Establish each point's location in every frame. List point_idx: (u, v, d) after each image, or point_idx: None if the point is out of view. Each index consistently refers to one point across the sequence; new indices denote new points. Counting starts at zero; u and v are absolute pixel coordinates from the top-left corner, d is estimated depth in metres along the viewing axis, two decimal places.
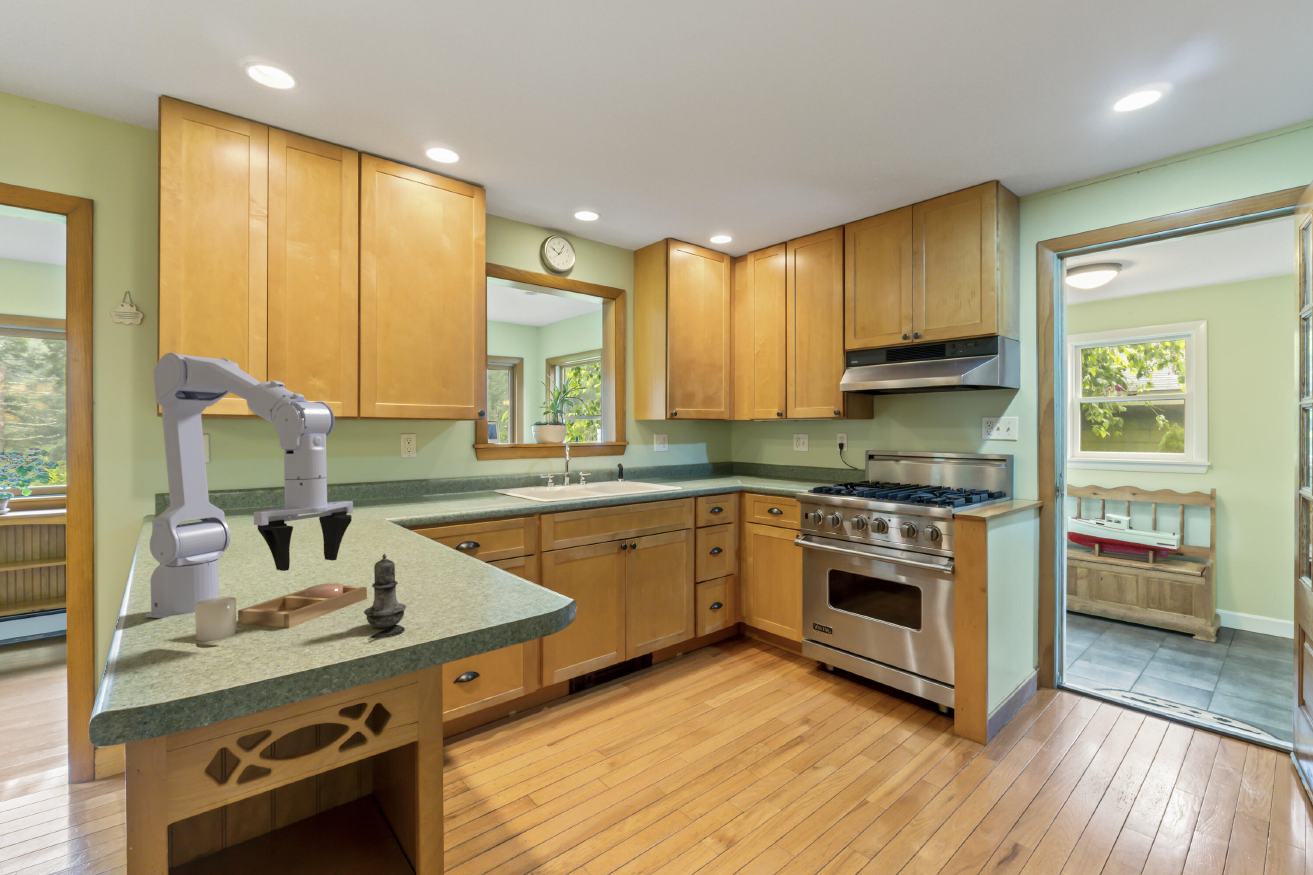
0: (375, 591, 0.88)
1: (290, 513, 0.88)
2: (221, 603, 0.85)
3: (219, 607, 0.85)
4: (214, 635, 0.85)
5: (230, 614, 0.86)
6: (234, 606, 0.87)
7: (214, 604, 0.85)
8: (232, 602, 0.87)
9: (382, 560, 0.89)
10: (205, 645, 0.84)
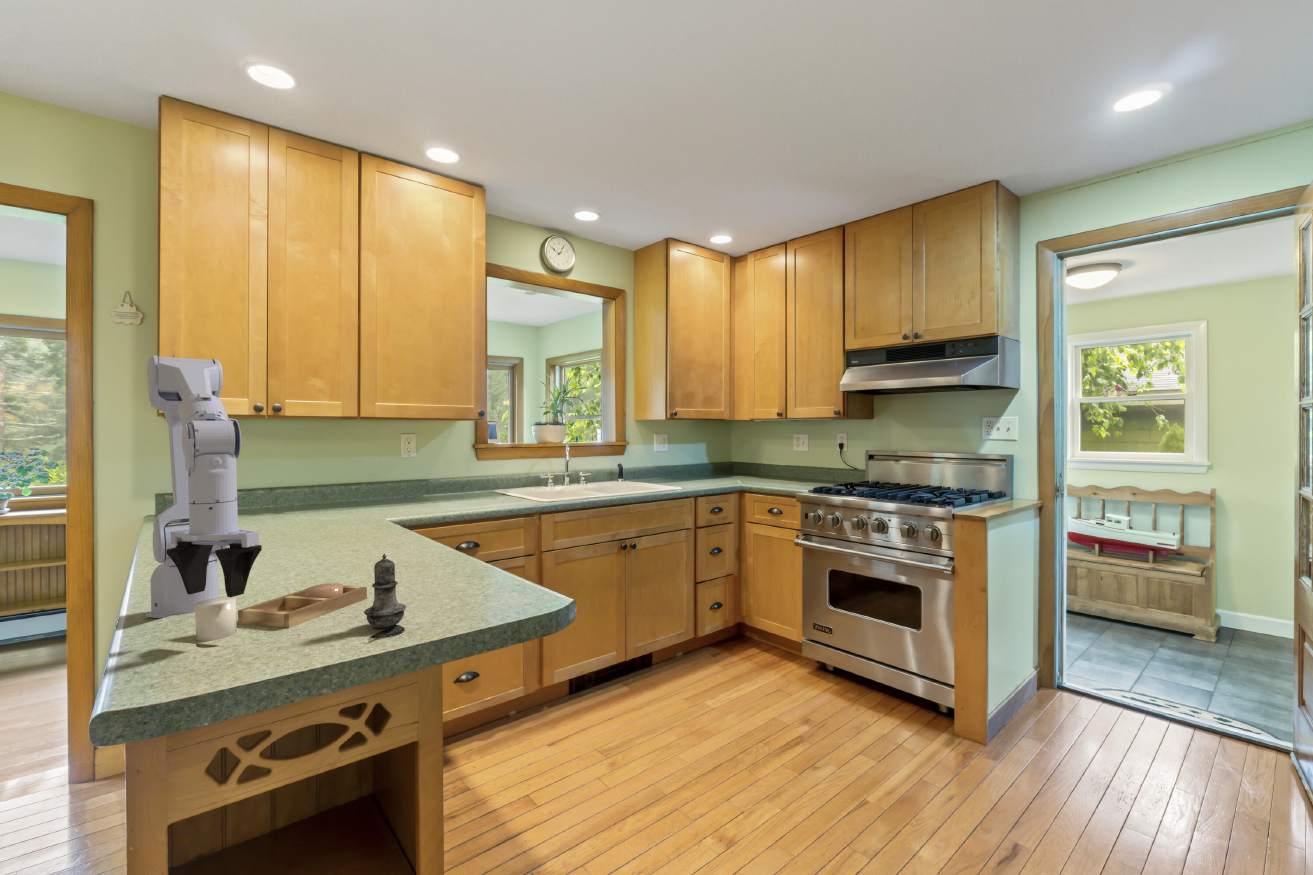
0: (375, 591, 0.88)
1: (181, 537, 0.86)
2: (221, 603, 0.85)
3: (219, 607, 0.85)
4: (214, 635, 0.85)
5: (230, 614, 0.86)
6: (234, 606, 0.87)
7: (214, 604, 0.85)
8: (232, 602, 0.87)
9: (382, 560, 0.89)
10: (205, 645, 0.84)
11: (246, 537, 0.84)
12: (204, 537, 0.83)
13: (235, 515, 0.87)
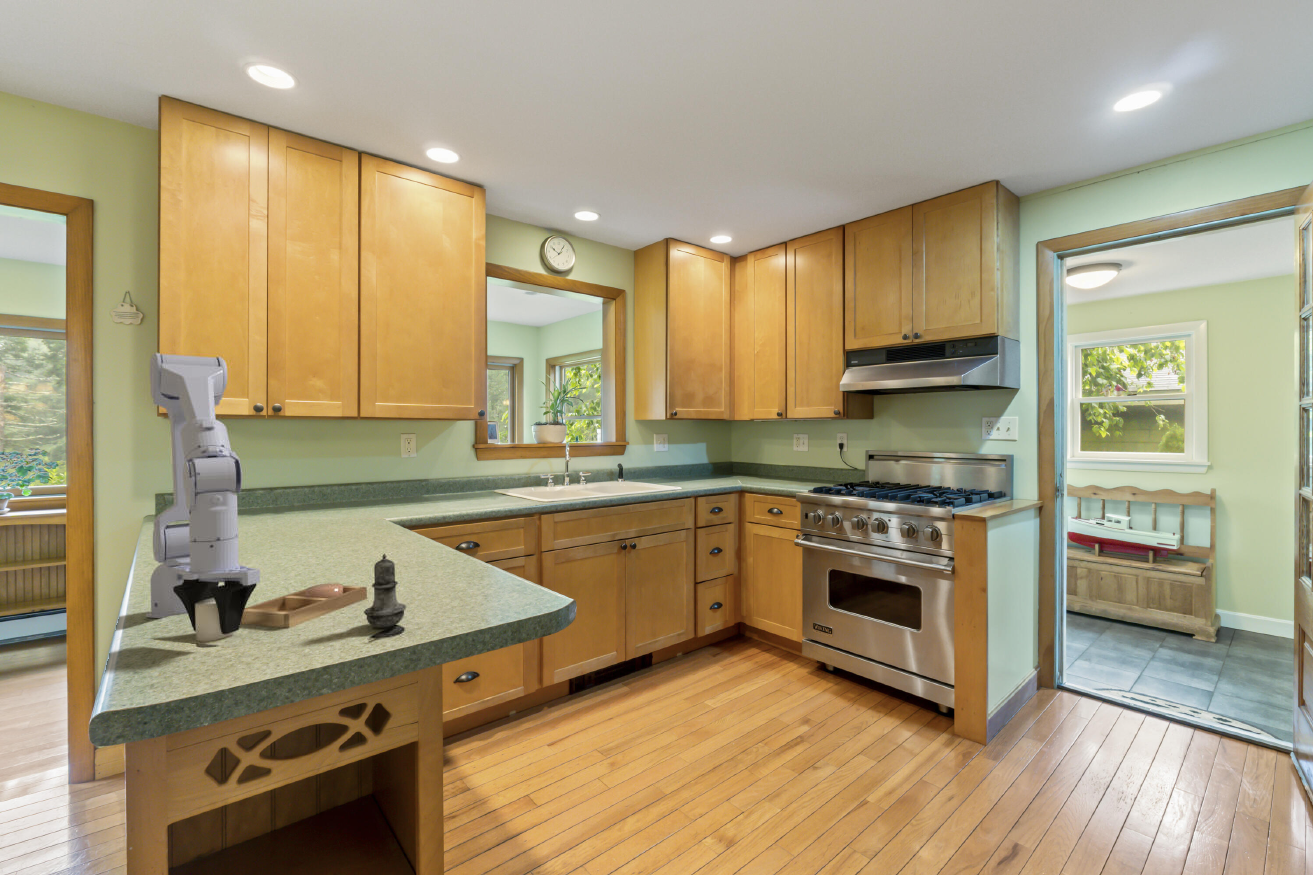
0: (375, 591, 0.88)
1: (182, 574, 0.86)
2: None
3: None
4: (214, 635, 0.85)
5: None
6: None
7: (214, 604, 0.85)
8: None
9: (382, 560, 0.89)
10: (205, 645, 0.84)
11: (247, 575, 0.84)
12: (205, 575, 0.83)
13: (236, 552, 0.87)
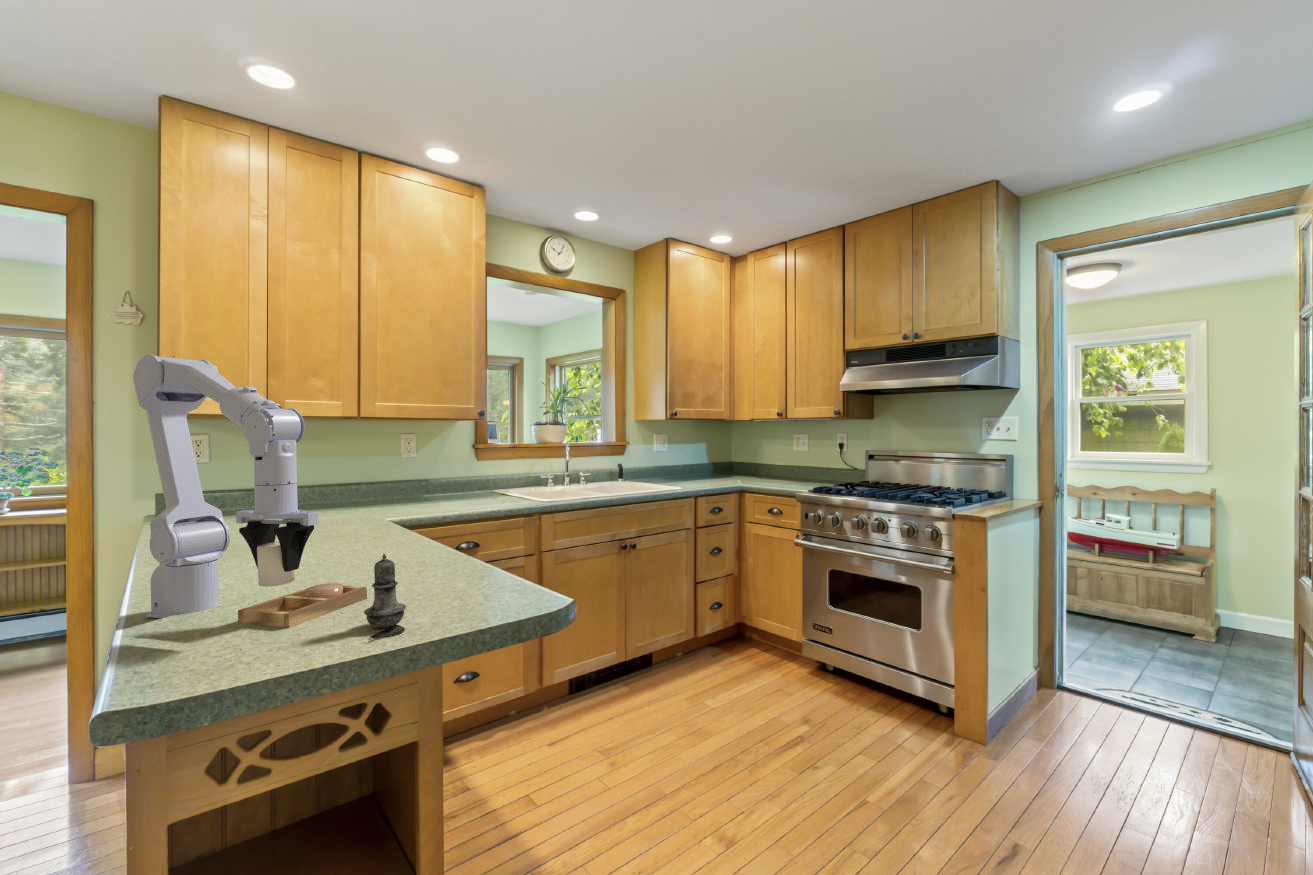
0: (375, 591, 0.88)
1: (247, 516, 0.93)
2: None
3: (278, 550, 0.91)
4: (275, 575, 0.91)
5: None
6: None
7: (274, 546, 0.92)
8: None
9: (382, 560, 0.89)
10: (267, 584, 0.91)
11: (308, 516, 0.91)
12: (269, 516, 0.91)
13: (296, 496, 0.94)
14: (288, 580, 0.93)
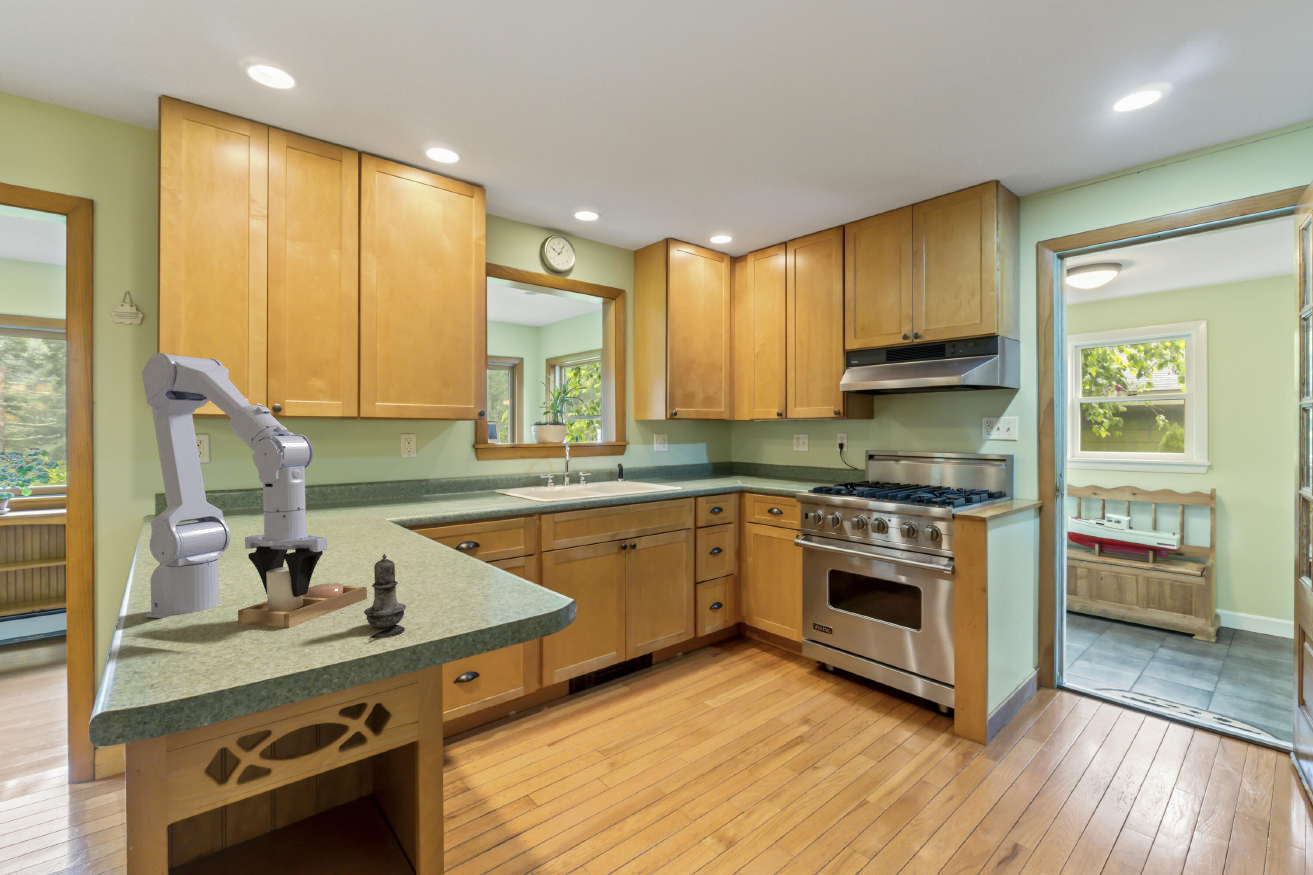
0: (375, 591, 0.88)
1: (256, 542, 0.94)
2: None
3: (288, 575, 0.93)
4: (284, 600, 0.92)
5: None
6: None
7: (283, 572, 0.93)
8: None
9: (382, 560, 0.89)
10: (276, 609, 0.92)
11: (317, 542, 0.92)
12: (279, 542, 0.92)
13: (304, 522, 0.95)
14: (297, 605, 0.94)
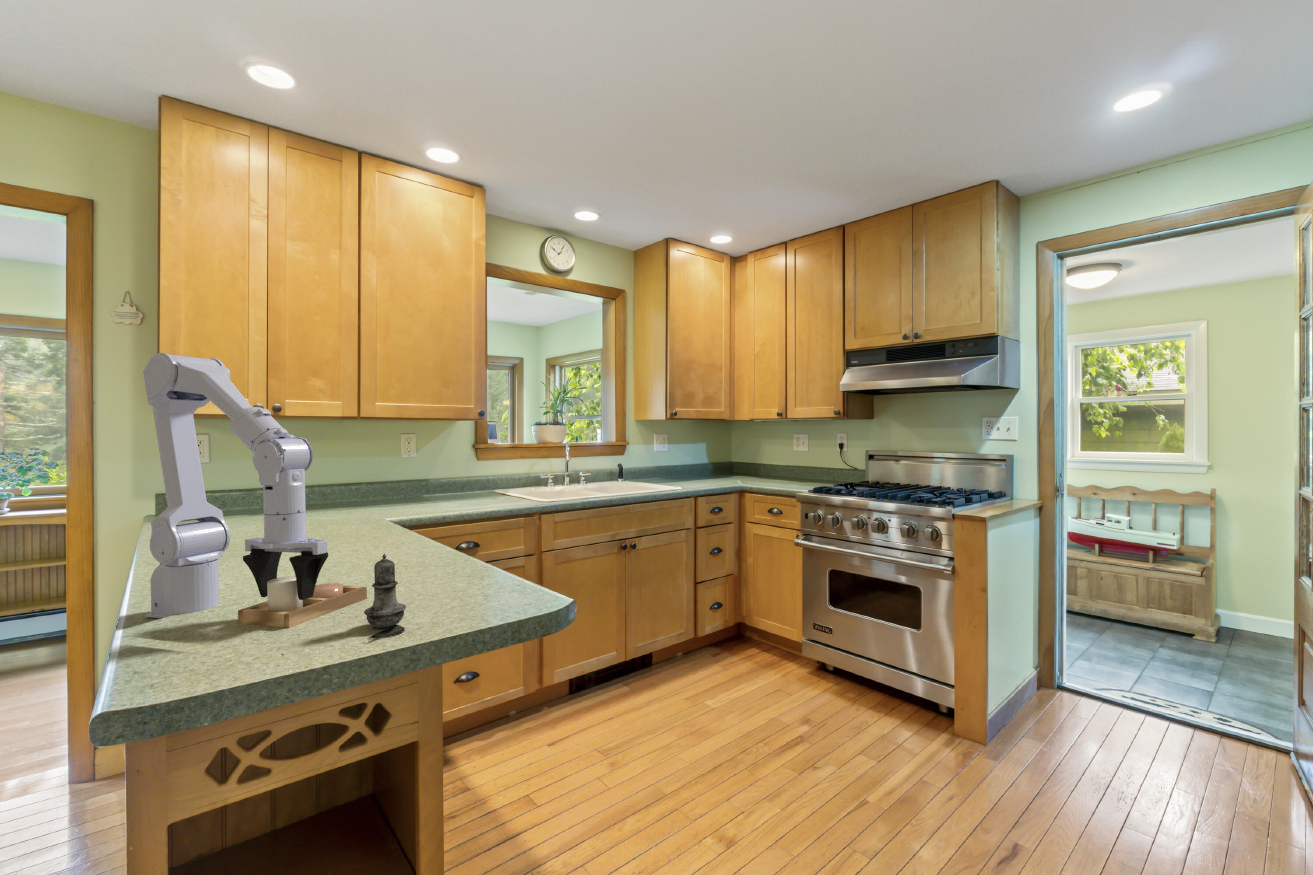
0: (375, 591, 0.88)
1: (256, 544, 0.94)
2: (290, 581, 0.93)
3: (288, 585, 0.93)
4: (284, 610, 0.92)
5: None
6: None
7: (284, 582, 0.93)
8: None
9: (382, 560, 0.89)
10: None
11: (317, 545, 0.92)
12: (279, 545, 0.92)
13: (304, 525, 0.95)
14: None
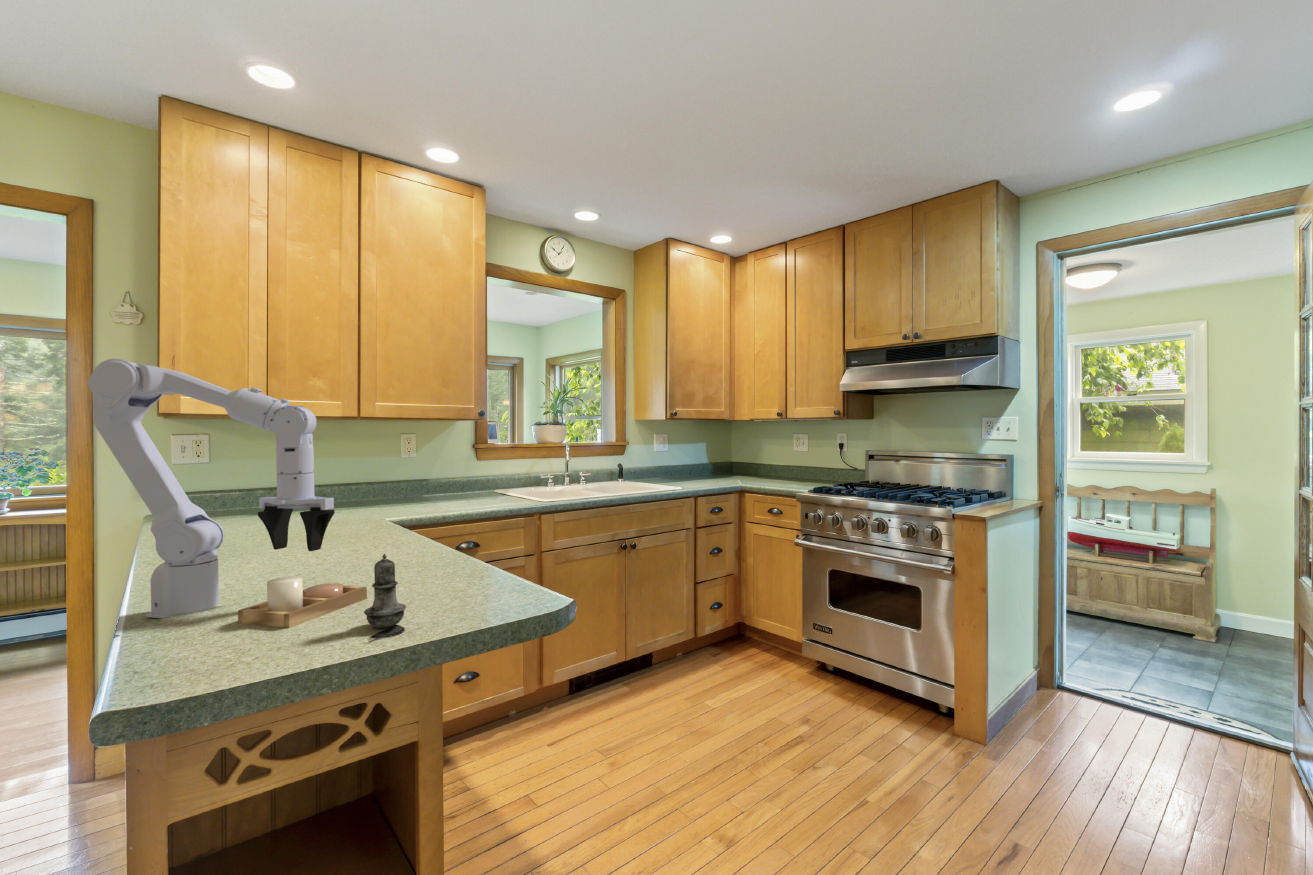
0: (375, 591, 0.88)
1: (270, 501, 1.04)
2: (290, 581, 0.93)
3: (288, 585, 0.93)
4: (284, 610, 0.92)
5: (298, 592, 0.94)
6: (301, 585, 0.95)
7: (284, 582, 0.93)
8: (299, 581, 0.94)
9: (382, 560, 0.89)
10: None
11: (324, 501, 1.02)
12: (290, 501, 1.02)
13: (313, 484, 1.05)
14: None
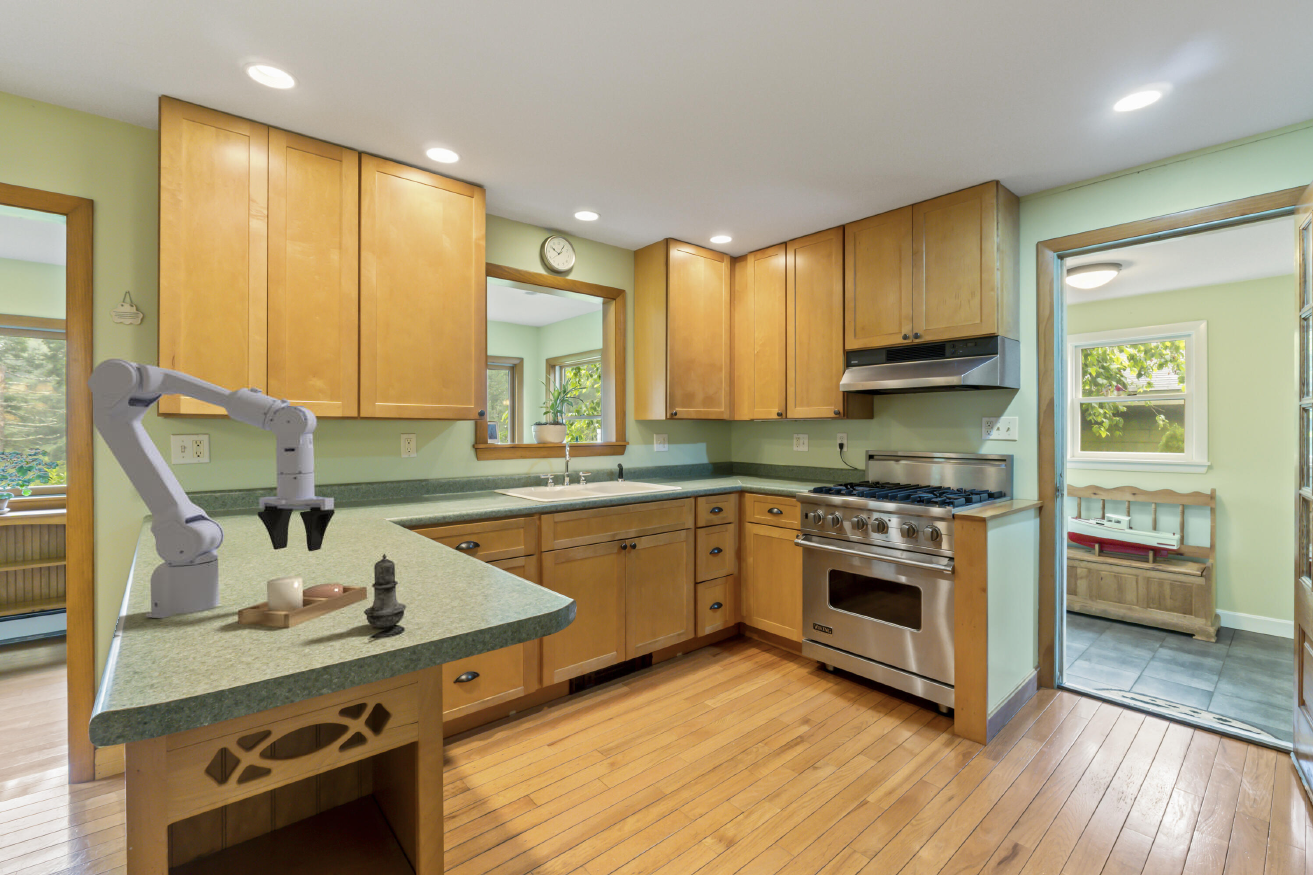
0: (375, 591, 0.88)
1: (270, 501, 1.04)
2: (290, 581, 0.93)
3: (288, 585, 0.93)
4: (284, 610, 0.92)
5: (298, 592, 0.94)
6: (301, 585, 0.95)
7: (284, 582, 0.93)
8: (299, 581, 0.94)
9: (382, 560, 0.89)
10: None
11: (324, 501, 1.02)
12: (290, 501, 1.02)
13: (313, 484, 1.05)
14: None
